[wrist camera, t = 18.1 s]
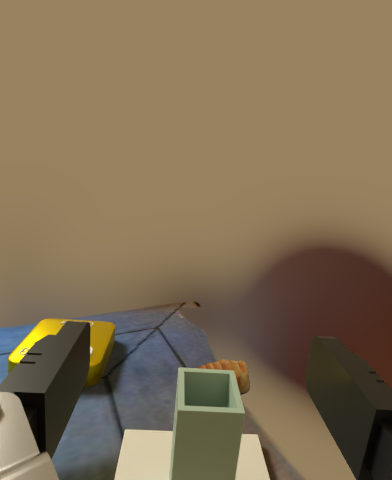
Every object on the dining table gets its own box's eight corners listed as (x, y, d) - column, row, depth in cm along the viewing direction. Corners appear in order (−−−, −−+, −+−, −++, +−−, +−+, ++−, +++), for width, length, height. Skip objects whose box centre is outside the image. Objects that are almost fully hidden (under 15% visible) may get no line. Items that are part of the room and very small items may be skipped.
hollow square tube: (227, 532, 31) (244, 413, 28) (166, 531, 31) (177, 410, 28) (218, 461, 38) (231, 361, 35) (169, 460, 38) (178, 358, 35)
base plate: (306, 631, 26) (326, 549, 24) (84, 632, 25) (85, 545, 23) (255, 443, 43) (265, 386, 41) (124, 438, 42) (127, 380, 40)
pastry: (196, 395, 52) (198, 375, 51) (193, 369, 58) (195, 351, 57) (251, 396, 53) (254, 376, 52) (242, 371, 59) (244, 353, 58)
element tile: (116, 340, 66) (117, 319, 65) (98, 389, 51) (98, 363, 50) (43, 336, 65) (42, 314, 64) (3, 385, 50) (2, 358, 49)
